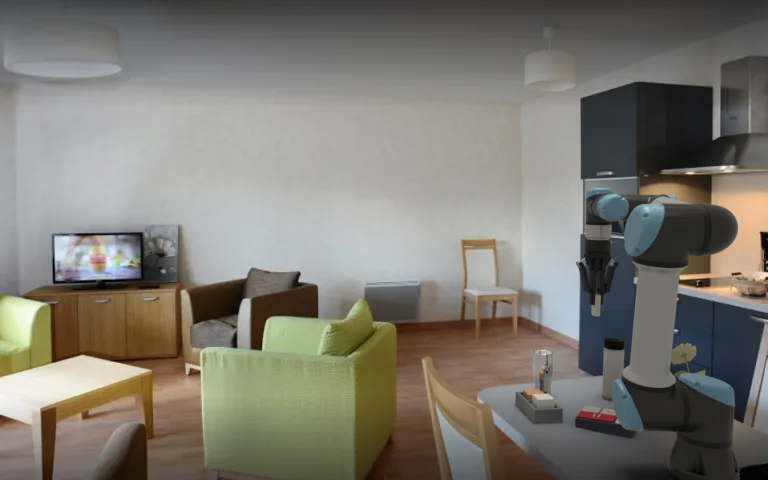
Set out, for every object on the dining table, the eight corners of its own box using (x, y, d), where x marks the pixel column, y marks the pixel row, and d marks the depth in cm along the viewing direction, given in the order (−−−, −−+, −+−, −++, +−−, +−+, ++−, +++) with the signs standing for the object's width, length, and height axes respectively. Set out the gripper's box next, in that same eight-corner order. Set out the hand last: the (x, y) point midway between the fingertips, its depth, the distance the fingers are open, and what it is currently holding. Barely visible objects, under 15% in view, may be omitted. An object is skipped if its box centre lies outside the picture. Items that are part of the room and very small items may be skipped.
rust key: (544, 407, 185) (544, 394, 184) (528, 407, 184) (528, 395, 184) (538, 401, 190) (538, 389, 189) (522, 402, 189) (523, 389, 189)
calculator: (584, 404, 181) (637, 411, 173) (584, 418, 182) (637, 426, 174) (574, 415, 172) (630, 423, 164) (574, 430, 172) (630, 439, 164)
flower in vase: (711, 425, 174) (716, 340, 172) (722, 441, 163) (727, 350, 161) (662, 420, 177) (666, 337, 175) (669, 435, 166) (673, 346, 164)
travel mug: (597, 396, 198) (599, 336, 197) (612, 393, 201) (614, 334, 199) (611, 402, 192) (613, 341, 191) (626, 399, 195) (629, 339, 194)
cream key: (554, 412, 177) (554, 399, 177) (538, 413, 177) (538, 399, 176) (547, 406, 182) (548, 393, 182) (531, 407, 181) (532, 394, 181)
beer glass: (527, 394, 200) (528, 350, 199) (545, 392, 202) (547, 348, 201) (538, 401, 193) (540, 355, 192) (557, 399, 195) (559, 353, 194)
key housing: (562, 422, 176) (562, 408, 175) (534, 423, 175) (534, 410, 174) (541, 403, 192) (541, 390, 191) (515, 404, 191) (515, 391, 190)
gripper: (611, 237, 188) (609, 312, 190) (572, 238, 186) (570, 313, 188) (624, 239, 181) (621, 317, 182) (583, 239, 179) (581, 318, 181)
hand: (595, 315), depth 185 cm, fingers closed
